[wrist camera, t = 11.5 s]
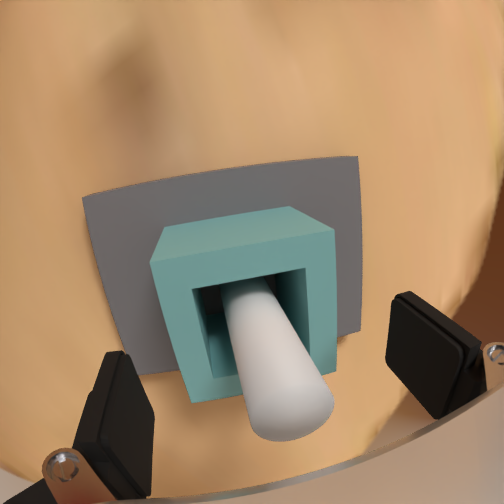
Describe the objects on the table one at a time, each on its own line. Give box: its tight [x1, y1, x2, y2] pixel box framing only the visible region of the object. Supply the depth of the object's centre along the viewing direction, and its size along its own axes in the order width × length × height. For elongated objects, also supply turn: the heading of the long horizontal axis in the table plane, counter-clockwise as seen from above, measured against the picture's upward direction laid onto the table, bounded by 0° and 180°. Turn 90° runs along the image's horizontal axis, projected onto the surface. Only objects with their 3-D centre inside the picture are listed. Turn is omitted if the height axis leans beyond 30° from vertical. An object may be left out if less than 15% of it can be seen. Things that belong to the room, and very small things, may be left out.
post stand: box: [82, 156, 362, 441], centre depth 14 cm, size 12×16×12 cm
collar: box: [150, 206, 337, 403], centre depth 15 cm, size 7×7×6 cm
